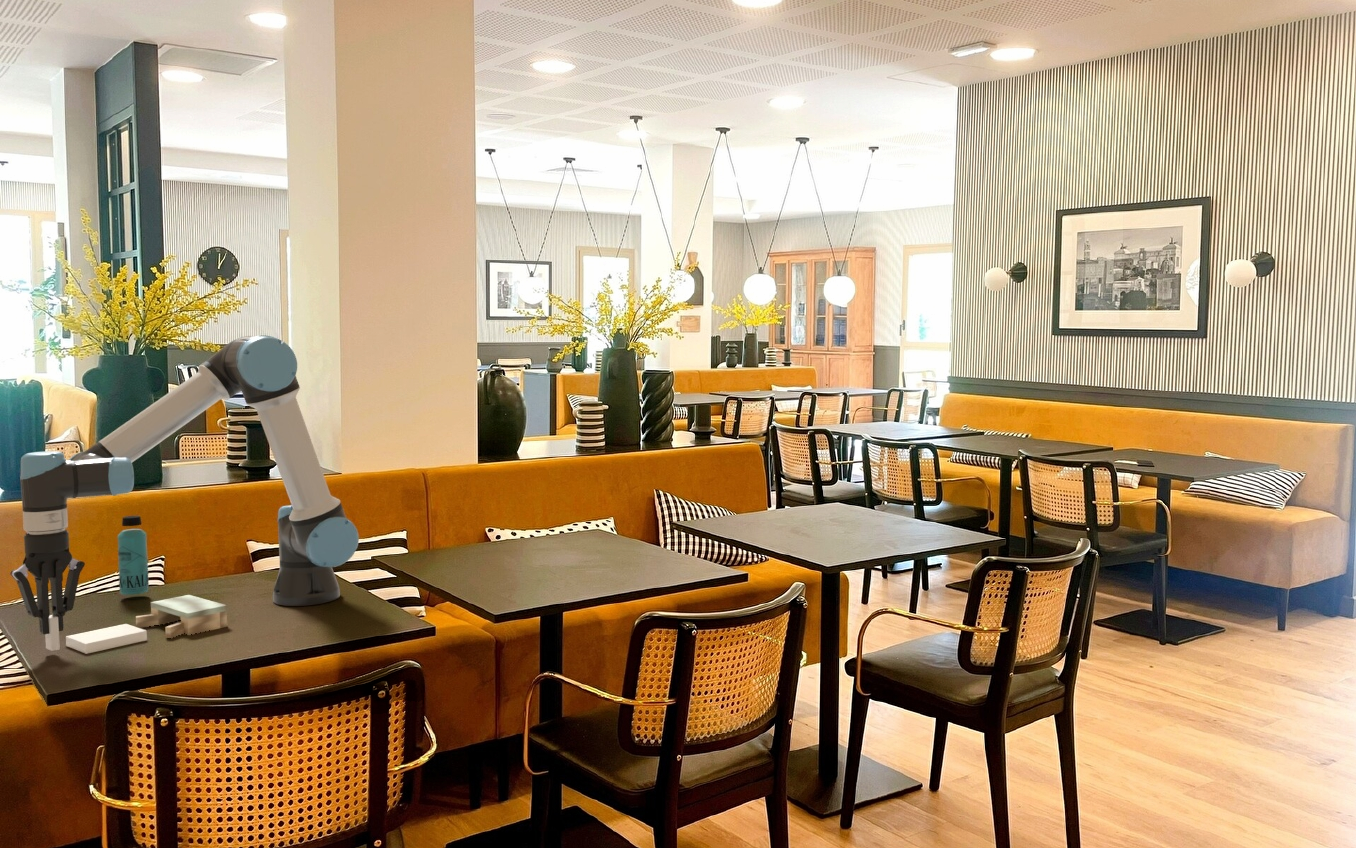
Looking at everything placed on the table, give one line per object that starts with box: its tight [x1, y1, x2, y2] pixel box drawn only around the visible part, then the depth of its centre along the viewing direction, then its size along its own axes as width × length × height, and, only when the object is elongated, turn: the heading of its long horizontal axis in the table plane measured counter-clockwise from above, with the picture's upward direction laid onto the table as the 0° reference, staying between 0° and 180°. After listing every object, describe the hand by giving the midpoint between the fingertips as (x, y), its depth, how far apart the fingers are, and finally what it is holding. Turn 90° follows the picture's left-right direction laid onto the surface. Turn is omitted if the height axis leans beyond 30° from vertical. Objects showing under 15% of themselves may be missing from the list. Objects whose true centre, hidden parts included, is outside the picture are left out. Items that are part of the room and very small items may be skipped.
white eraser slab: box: [65, 623, 148, 655], centre depth 218 cm, size 12×9×2 cm
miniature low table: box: [135, 594, 228, 639], centre depth 230 cm, size 13×16×5 cm
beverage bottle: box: [117, 515, 150, 596], centre depth 256 cm, size 6×7×20 cm
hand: (52, 648), depth 210 cm, fingers closed
